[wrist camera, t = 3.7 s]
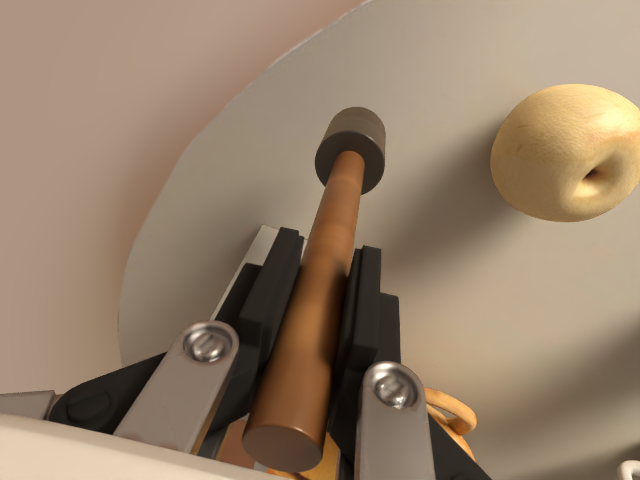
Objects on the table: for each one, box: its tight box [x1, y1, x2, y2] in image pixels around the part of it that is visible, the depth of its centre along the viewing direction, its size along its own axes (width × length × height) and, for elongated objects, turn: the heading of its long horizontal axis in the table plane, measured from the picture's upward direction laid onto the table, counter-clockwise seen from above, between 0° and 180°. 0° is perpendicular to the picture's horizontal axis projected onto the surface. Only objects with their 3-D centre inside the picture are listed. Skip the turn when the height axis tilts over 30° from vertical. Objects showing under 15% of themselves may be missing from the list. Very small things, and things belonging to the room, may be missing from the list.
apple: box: [490, 84, 640, 222], centre depth 23 cm, size 8×8×8 cm
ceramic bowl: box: [266, 388, 478, 480], centre depth 40 cm, size 30×24×8 cm
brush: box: [242, 107, 386, 473], centre depth 16 cm, size 4×4×20 cm
